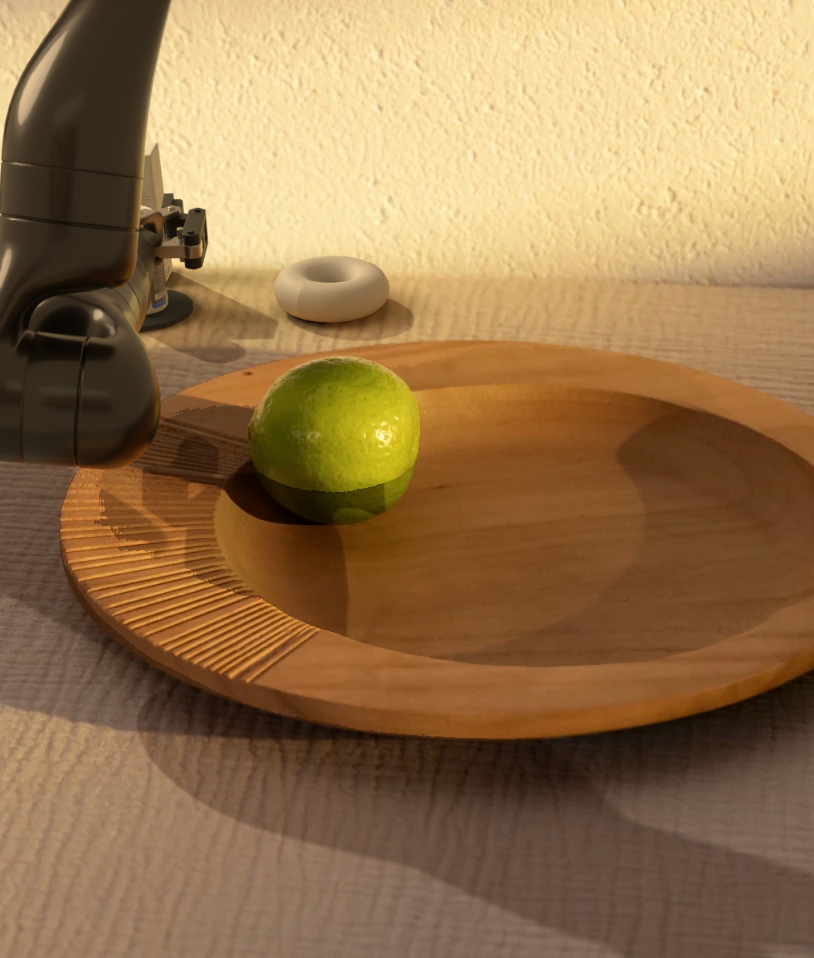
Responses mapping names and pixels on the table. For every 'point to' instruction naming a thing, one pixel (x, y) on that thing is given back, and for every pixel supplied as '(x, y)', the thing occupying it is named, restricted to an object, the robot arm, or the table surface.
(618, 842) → the table surface
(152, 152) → the cosmetic box
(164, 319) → the coaster
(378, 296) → the donut
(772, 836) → the table surface
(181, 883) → the table surface
